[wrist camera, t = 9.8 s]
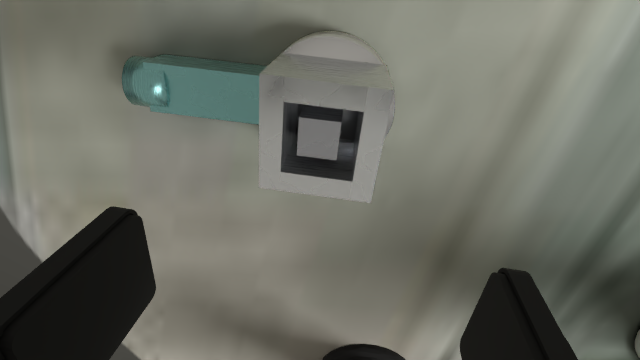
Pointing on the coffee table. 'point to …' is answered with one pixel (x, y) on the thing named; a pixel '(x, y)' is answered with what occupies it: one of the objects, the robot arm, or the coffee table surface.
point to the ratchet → (247, 90)
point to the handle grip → (362, 353)
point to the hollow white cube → (326, 91)
